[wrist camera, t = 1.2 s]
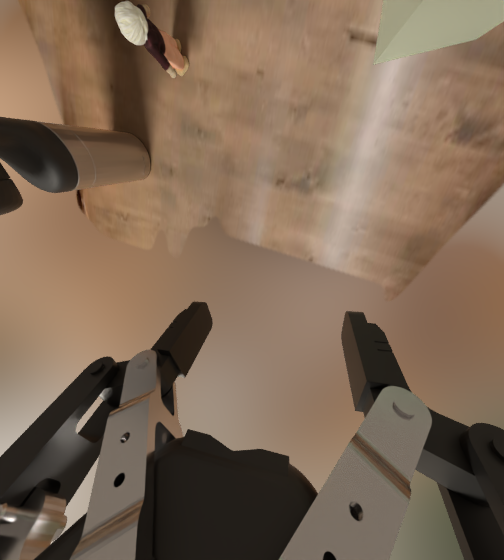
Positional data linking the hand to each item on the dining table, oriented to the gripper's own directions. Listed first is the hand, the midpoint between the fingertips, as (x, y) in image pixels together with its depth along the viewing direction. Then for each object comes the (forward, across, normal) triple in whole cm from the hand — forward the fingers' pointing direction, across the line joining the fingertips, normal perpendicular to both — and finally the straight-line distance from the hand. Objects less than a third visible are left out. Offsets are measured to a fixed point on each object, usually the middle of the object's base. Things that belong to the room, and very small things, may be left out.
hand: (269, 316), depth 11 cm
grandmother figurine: (+36, +20, -24) cm, 48 cm away
